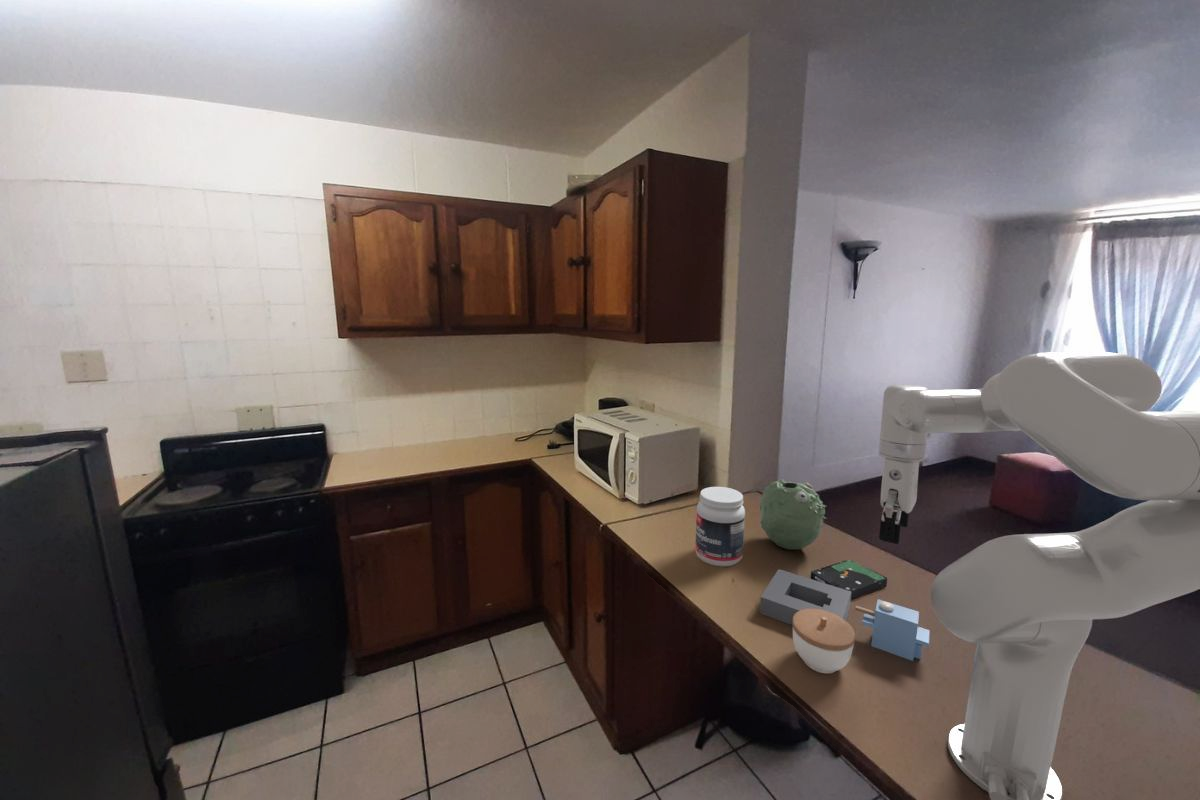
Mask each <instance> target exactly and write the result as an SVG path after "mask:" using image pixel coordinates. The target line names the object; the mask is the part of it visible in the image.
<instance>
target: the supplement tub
mask: <svg viewBox="0 0 1200 800" xmlns="http://www.w3.org/2000/svg"><path fill="white" fill-rule="evenodd" d="M697 503H698V504H697V506H696V518H695V519H696V521H695V525H696V526H695V542H694V543H695V548H694V551H695V553H696V556H697V557H698V558H699V559H700V560H701V561H702V562H704V563H707V564H709V565H712V566H717V567H731V566H734V565H736V564H738V563H740V561H741V560H742V559H743V556H744V555H743V552H744V537H745V536H744V534H745V518H746V509H745V507H744V506H743V505H744V495H743V493H742V492H740V491H738V489H737V490H736V489H733V488H730V487H725V486H710V487H709V486H708V487H705V488H703V489H701V491H700V493H699V502H697Z"/></svg>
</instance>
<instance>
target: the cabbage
mask: <svg viewBox="0 0 1200 800" xmlns="http://www.w3.org/2000/svg"><path fill="white" fill-rule="evenodd" d="M820 498H821V497H820V494H818V493H817V492H816V490H814V487H813V485H812V484H811V483H810V482H806V481H805V482H803V483H801V482H800V483H799V482H795V481H793V482H792V481H790V480H788V481H786V480H784V479H783V478H781V479H780V480H777V481H772V482H771V483H770V484H768V485H767V487H766V486H765V488H764V490H763V493H762V496H761V500H760V502H759V503H760V504H759V512H760V524H761V529H762V530H763V531H764V532H765V534H766V536H767V537H768V538H769V539H770V540H771V541H772V542H773V543H774V544H776V545H777V546H778V547H779V548H783V549H786V550H801V549H804V548H806V547H808V546H810V545H811V544H813V543H814V542H815V541H817V539H818V538H819V536H820V534H821V531H822V527H823V524H824V520H827V519H828V518H827V517H825V515H826V508H827V505H825V504H824V502H823V501H822V500H821V499H820Z"/></svg>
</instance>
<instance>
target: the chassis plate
mask: <svg viewBox="0 0 1200 800" xmlns="http://www.w3.org/2000/svg"><path fill="white" fill-rule="evenodd" d="M851 600H852V599H851V591H848V590H845V589H841V588H838V587H835V586H832V585H828V584H825V583H822V582H819V581H815V580H812V579H811V578H809V577H805V576H803V575H800V574H796V573H792V572H789V571H786V570H783V569H777V571H776V572H775V574H774V576H773V577H772V578H771V580H770V582H769V583H768V585H767V586H766V588H765V590H764V591H763V593H762V594H761V595H760V602H759V603H760V604H759V614H761V613H762V615H764V614H765V615H764V616H766V615H767V617H771V618H772V619H775V620H778V621H781V622H783V623H786V624H788V625H791V626H793V624H792V620H793V616H794V614H795V613H797V612H798V611H800V610H803V609H820V610H824V611H828V612H831V613H833V614H835V615H837V616H839V617H841V618H842V619H844V620H845V621H846V622H847V618H848V614H849V612H850V607H851Z"/></svg>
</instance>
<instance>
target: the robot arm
mask: <svg viewBox="0 0 1200 800" xmlns="http://www.w3.org/2000/svg"><path fill="white" fill-rule="evenodd" d="M1004 367H1005V368H1003V369H1002V370H1001V372H998V373H997V374H995V375H993V376H991V377H990V378H989V379H988V380H987V381H986V382H985V383H984V385H983V387H982V388H976V389H975V388H974V389H972V388H971V389H959V388H958V389H929V388H927V387H925V386H921V385H913V384H893V385H889V386H887V387H886V388H885V390H884V391H883V399H882V400H883V401H882V409H881V421H880V422H881V423H880V434H879V444H878V455H879V456H880V457H881V458H884V460H883V468H882V479H881V485H880V487H881V488H880V501H879V502H880V504H879V505H880V507H881V508H883V510H882V515H881V519H880V525H879V526H880V527H879V536H878V538H879V540H880V541H883V542H887V543H890V544H895V545H899V543H900V539H901V538H900V537H901V527H903V528H907V527H908V524H909V515H910V513H911V512H912V511H913V509H914V507H915V506H916V503H917V499H918V483H919V468H920V467H919V466H920V465H919V464H920V462H924V461H925V459H926V452H927V451H926V450H927V442H928V434H949V433H950V434H955V433H957V434H962V433H963V434H964V433H965V434H966V433H967V434H970V433H971V434H974V433H990V432H991V433H992V432H993V433H994V432H1002V431H1003V432H1005V431H1009V432H1010V431H1012V432H1019V431H1022V433H1024V434H1025V435H1027V436H1028V437H1029V438H1031V439H1032V440H1033V441H1034V442H1036V443H1037V444H1038V446H1040V447H1042V448H1043V449H1044V450H1045V451H1046V452H1047V453H1049V454H1050V455H1052V456H1053V457H1054V458H1055V459H1056V460H1058V461H1059V462H1060V463H1061V464H1062V465H1064V466H1065V467H1066V468H1067V469H1069V470H1070V471H1071V472H1072V473H1074V475H1076V476H1077V477H1079V478H1080V479H1081V480H1083V481H1084V482H1086V483H1087V484H1089V485H1091V486H1092V487H1095V488H1096V489H1098V490H1099V491H1102V492H1104V493H1107V494H1110V495H1112V496H1116V497H1118V498H1121V499H1122V498H1123V499H1130V500H1135V501H1144V502H1141V503H1138V504H1136V505H1132V506H1130V507H1128V508H1125V509H1123V510H1121V511H1119V512H1117V513H1115V514H1114V515H1113V516H1111V517H1109V518H1107V519H1105V520H1104V521H1101V522H1099V523H1096V524H1095V525H1093V526H1090V527H1087V528H1085V529H1081V530H1079V531H1075V532H1074V531H1073V532H1058V533H1024V534H1022V533H1021V534H1011V535H1003V536H1000V537H997V538H993V539H991V540H988V541H985V542H984V543H982V544H981V545H979V546H977V547H976V548H974V549H972V550H971V551H969V552H967V553H966V554H964V555H963V556H962V557H959V558H958V559H957V560H955V561H953V562H952V563H951V564H949V565H947V566H946V567H945V568H943V569H942V570H941V571H939V573H938V574H937V576H936V577H935V578H934V580H933V582H932V585H931V590H930V602H931V607H932V610H933V612H934V615H935V616H936V618H937V620H938V621H939V622H940V623H941V625H942V626H943V627H944V628H945V629H946V630H947V631H948V632H950V633H952V635H954V636H956V637H958V638H959V639H962V640H964V641H966V642H970V643H974V644H977V646H976V649H975V655H974V661H973V666H972V672H971V673H972V674H971V680H970V686H969V692H968V698H967V705H966V712H965V718H964V723H963V724H958V725H956V726H954V727H953V728H952V729H951V730H950V732H949V734H948V738H947V746H948V750H949V753H950V756H951V758H952V759H953V761H954V762H955V763H956V766H958V767H959V768H960V770H961V771H962V772H963V773H964V774H965V775H966V776H967V777H968V779H970V780H971V781H972V782H974V783H975V784H976V785H977V786H979V788H981V789H982V790H984V791H986V792H987V793H988V795H989V799H990V800H1063V798H1062V797H1063V786H1062V784H1061V781H1060V779H1059V777H1058V776H1057V774H1056V772H1055V771H1054V769H1052V763H1053V758H1054V754H1055V753H1054V752H1055V749H1056V744H1057V739H1058V733H1059V727H1060V725H1061V724H1060V723H1061V719H1062V713H1063V710H1064V709H1063V708H1064V703H1065V699H1066V695H1067V692H1068V691H1067V690H1068V687H1069V681H1070V678H1071V674H1072V670H1073V667H1074V664H1075V662H1076V660H1077V658H1078V656H1079V654H1080V652H1081V650H1082V648H1083V647H1084V645H1085V643H1086V641H1087V639H1088V637H1089V636H1090V632H1091V630H1092V627H1093V621H1094V620H1107V619H1117V618H1122V617H1126V616H1129V615H1132V614H1134V613H1136V612H1140V611H1142V610H1144V609H1147V608H1150V607H1152V606H1155V605H1157V604H1161V603H1164V602H1167V601H1170V600H1173V599H1175V598H1178V597H1182V596H1184V595H1185V596H1186V595H1188V594H1190V593H1193V592H1196V591H1198V590H1200V410H1179V411H1178V410H1174V411H1172V410H1170V411H1167V410H1166V411H1165V410H1164V411H1162V410H1161V411H1149V410H1150V409H1152V408H1153V407H1154V406H1155V405H1156V404H1157V402H1158V400H1159V399H1160V397H1161V395H1162V389H1163V387H1162V380H1161V378H1160V375H1159V374H1158V373H1157V371H1156V370H1155V369H1154V368H1153V367H1152V366H1150V365H1149V364H1148V363H1146V362H1145V361H1144V360H1141V359H1139V358H1137V357H1134V356H1133V355H1129V354H1123V353H1118V352H1109V351H1084V352H1083V351H1082V352H1081V351H1078V352H1077V351H1076V352H1073V351H1072V352H1069V351H1068V352H1062V351H1061V352H1059V351H1058V352H1038V353H1031V354H1029V355H1024V356H1022V357H1019V358H1017V359H1015V360H1014V361H1012V362H1011V363H1009V364H1008V365H1006V366H1004Z"/></svg>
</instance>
